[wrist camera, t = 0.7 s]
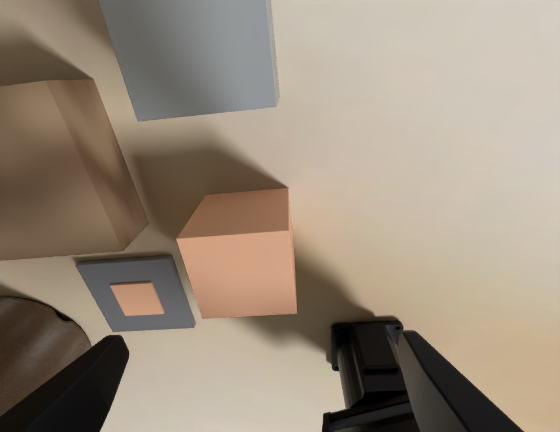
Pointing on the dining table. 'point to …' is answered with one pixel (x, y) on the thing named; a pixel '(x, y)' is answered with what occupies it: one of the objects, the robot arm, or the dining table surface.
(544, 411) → the dining table surface
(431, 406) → the robot arm
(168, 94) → the slate grey cube
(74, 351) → the plant pot
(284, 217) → the terracotta cube
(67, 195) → the tan block
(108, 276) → the card
